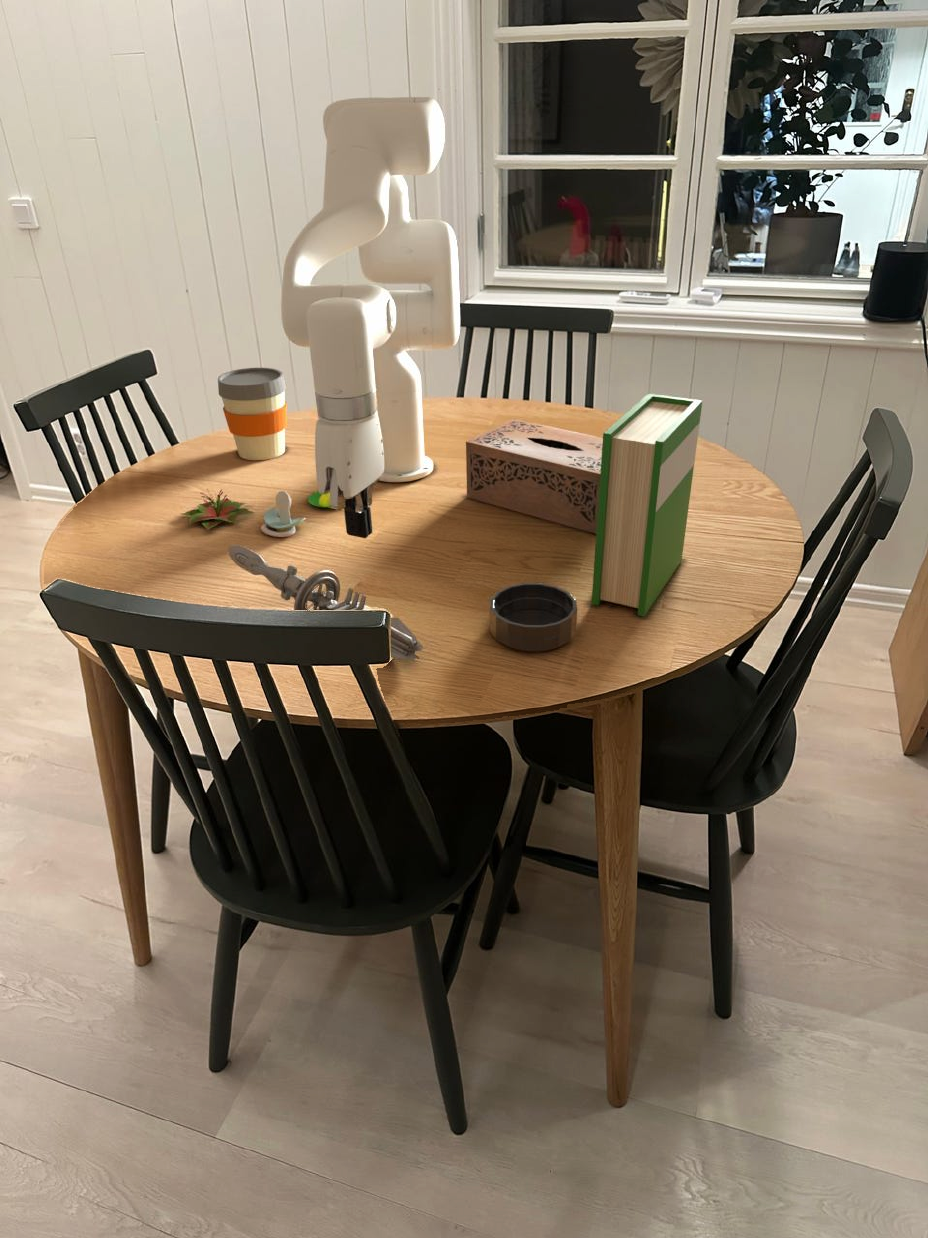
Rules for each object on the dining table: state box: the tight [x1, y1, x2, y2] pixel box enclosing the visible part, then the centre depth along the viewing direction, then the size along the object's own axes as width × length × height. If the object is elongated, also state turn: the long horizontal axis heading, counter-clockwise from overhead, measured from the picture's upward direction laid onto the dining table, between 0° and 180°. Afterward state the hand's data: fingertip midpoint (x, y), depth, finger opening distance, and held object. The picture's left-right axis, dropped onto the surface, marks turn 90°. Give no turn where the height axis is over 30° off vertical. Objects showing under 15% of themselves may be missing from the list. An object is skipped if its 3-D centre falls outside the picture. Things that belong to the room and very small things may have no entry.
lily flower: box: [181, 488, 256, 531], centre depth 140 cm, size 12×12×5 cm
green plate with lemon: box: [307, 490, 331, 509], centre depth 145 cm, size 8×8×3 cm
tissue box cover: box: [465, 418, 603, 535], centre depth 142 cm, size 26×14×10 cm, turn 53°
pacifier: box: [260, 490, 306, 538], centre depth 135 cm, size 7×6×6 cm
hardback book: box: [591, 393, 703, 617], centre depth 113 cm, size 18×7×24 cm, turn 152°
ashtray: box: [489, 582, 578, 653], centre depth 108 cm, size 11×11×4 cm
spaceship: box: [227, 544, 424, 662], centre depth 109 cm, size 8×35×8 cm
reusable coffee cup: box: [217, 367, 288, 461], centre depth 163 cm, size 13×13×15 cm
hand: (359, 533), depth 116 cm, fingers closed
